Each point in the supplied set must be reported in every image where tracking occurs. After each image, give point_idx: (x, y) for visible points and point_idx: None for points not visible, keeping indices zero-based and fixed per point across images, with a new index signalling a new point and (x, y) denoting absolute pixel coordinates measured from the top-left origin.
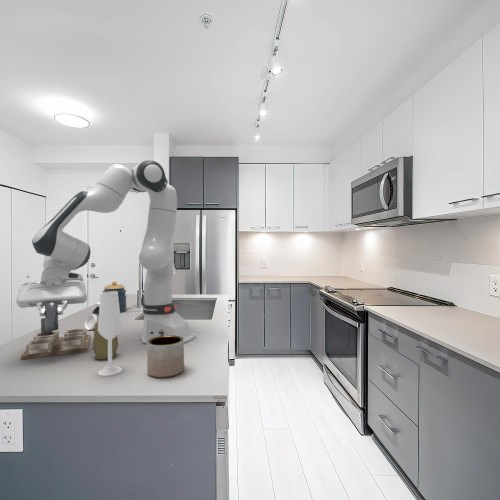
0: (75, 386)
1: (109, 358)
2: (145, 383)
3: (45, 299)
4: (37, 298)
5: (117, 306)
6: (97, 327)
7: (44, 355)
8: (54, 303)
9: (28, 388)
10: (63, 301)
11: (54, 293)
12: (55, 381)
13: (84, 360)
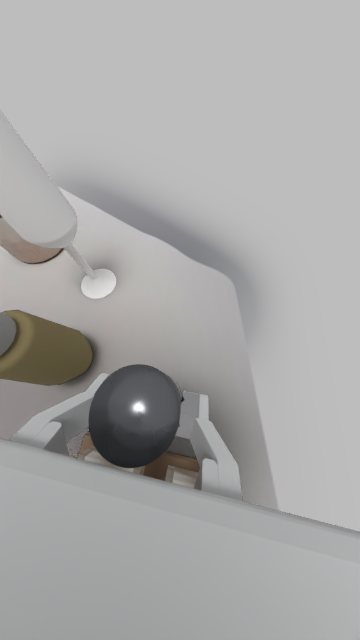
0: (152, 258)
1: (89, 266)
2: (82, 226)
3: (171, 488)
4: (254, 538)
5: None
6: (41, 325)
7: (184, 457)
8: (121, 368)
9: (206, 282)
10: (44, 435)
11: (30, 600)
12: (173, 287)
13: (114, 362)
